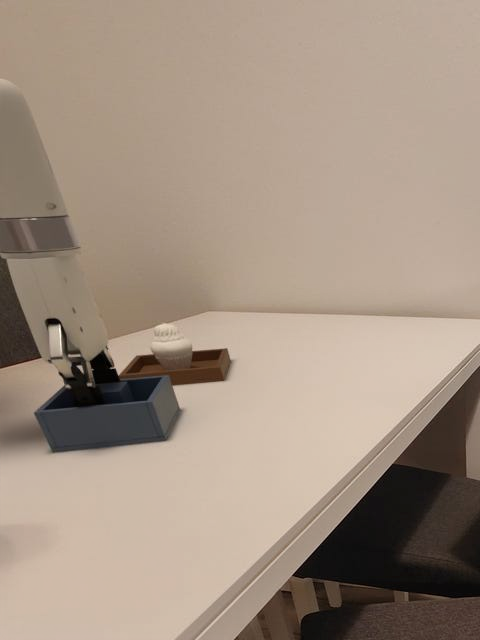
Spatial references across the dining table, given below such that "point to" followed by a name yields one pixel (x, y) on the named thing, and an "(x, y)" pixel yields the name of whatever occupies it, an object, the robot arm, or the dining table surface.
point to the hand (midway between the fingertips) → (106, 411)
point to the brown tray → (201, 369)
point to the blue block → (116, 392)
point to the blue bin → (111, 417)
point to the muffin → (171, 347)
